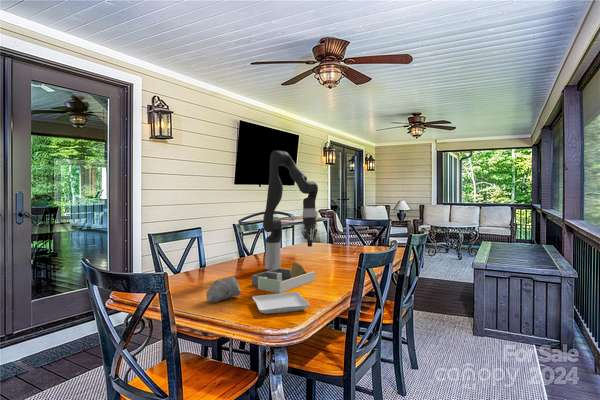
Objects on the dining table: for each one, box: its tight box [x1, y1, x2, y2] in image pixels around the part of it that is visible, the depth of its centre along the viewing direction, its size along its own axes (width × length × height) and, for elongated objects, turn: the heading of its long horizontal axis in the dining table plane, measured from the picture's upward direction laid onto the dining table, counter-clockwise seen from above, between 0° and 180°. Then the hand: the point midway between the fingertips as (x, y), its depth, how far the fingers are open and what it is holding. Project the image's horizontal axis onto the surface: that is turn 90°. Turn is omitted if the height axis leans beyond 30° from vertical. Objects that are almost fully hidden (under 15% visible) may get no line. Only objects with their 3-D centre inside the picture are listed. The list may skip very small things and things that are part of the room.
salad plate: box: [252, 291, 310, 315], centre depth 162 cm, size 21×21×3 cm
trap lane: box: [251, 267, 316, 294], centre depth 204 cm, size 23×31×6 cm
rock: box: [290, 262, 307, 279], centre depth 209 cm, size 11×9×10 cm
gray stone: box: [205, 276, 242, 304], centre depth 174 cm, size 16×15×10 cm
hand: (309, 246), depth 218 cm, fingers closed
